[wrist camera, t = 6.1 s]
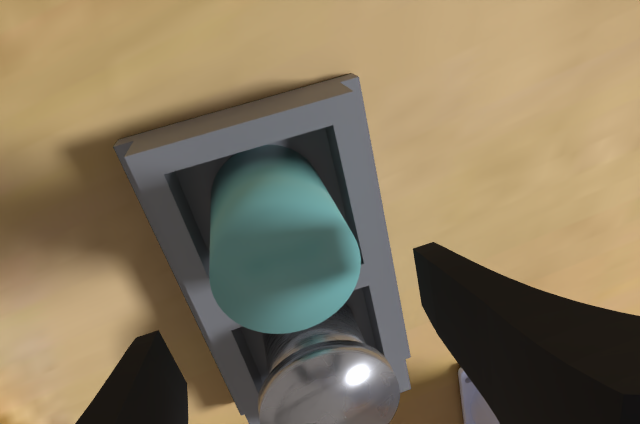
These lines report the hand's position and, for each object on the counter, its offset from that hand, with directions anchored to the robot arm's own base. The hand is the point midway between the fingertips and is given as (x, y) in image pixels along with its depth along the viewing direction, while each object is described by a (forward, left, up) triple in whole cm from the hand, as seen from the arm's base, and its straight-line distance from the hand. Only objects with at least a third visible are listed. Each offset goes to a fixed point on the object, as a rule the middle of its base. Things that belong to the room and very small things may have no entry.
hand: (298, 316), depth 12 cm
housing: (-4, 0, -9) cm, 10 cm away
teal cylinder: (0, 0, -8) cm, 8 cm away
